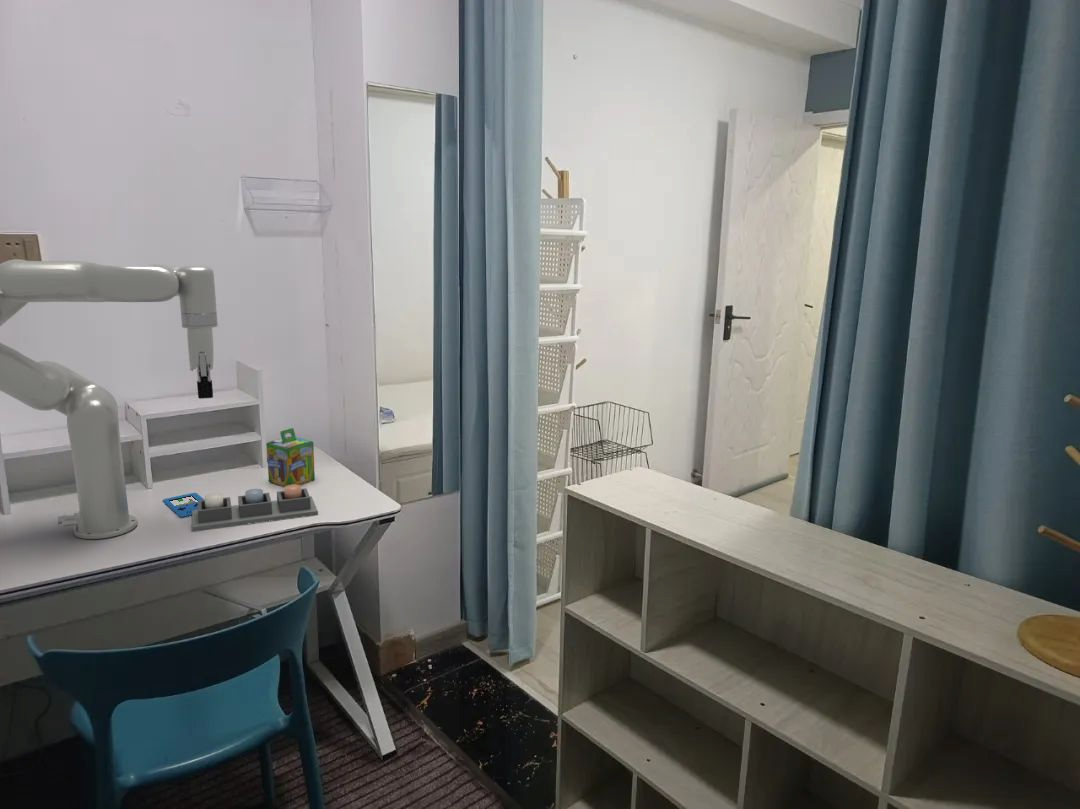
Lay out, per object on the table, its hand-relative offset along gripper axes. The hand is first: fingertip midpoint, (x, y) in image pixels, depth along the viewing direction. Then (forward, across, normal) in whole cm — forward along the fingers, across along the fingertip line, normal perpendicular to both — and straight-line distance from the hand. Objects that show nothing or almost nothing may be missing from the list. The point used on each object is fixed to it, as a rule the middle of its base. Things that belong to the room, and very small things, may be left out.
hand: (205, 397), depth 171 cm
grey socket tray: (+29, +5, +9) cm, 31 cm away
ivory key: (+26, +5, 0) cm, 27 cm away
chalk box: (+29, -17, +20) cm, 39 cm away
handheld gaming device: (+30, -7, -6) cm, 31 cm away
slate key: (+26, +5, +9) cm, 28 cm away
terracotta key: (+26, +5, +18) cm, 32 cm away
